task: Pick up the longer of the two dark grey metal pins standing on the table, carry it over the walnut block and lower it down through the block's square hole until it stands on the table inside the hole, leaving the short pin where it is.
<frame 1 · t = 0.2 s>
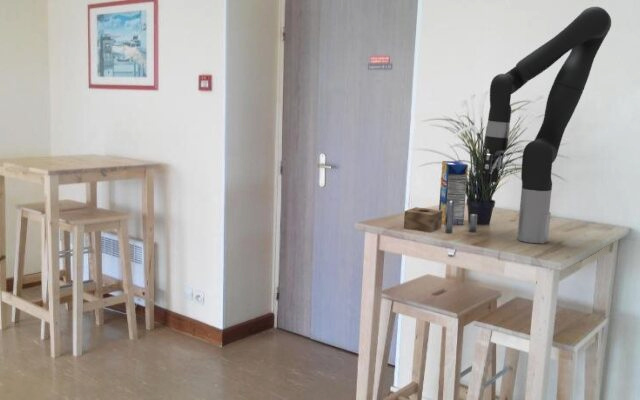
hand: (490, 183, 208), 18 cm above the table, tool pointing down, fingers open, 8 cm apart
short pin: (472, 231, 215), on the table
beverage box: (450, 222, 230), on the table
long pin: (448, 232, 212), on the table
hole block: (422, 227, 218), on the table
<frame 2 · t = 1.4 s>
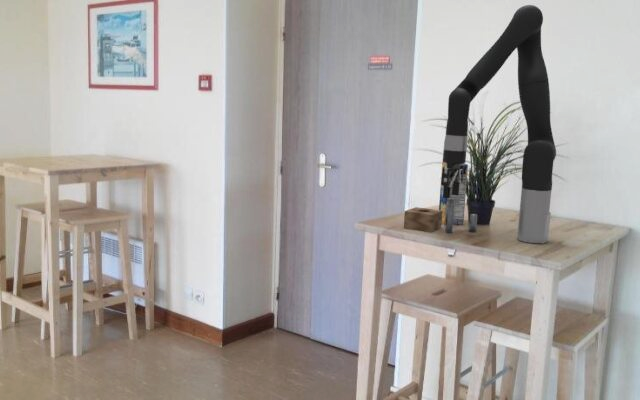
hand: (450, 196, 210), 12 cm above the table, tool pointing down, fingers open, 8 cm apart
nothing on the table moved.
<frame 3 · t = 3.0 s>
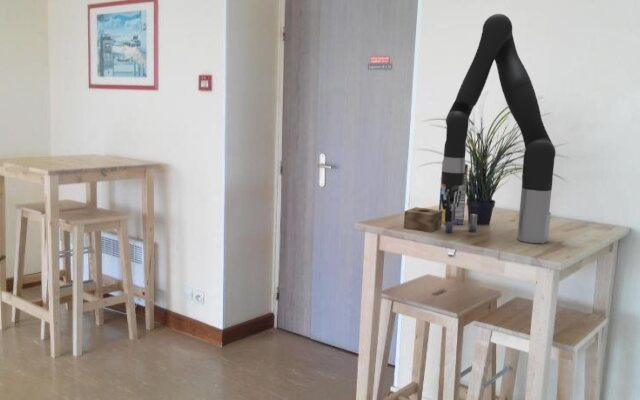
hand: (449, 220, 211), 4 cm above the table, tool pointing down, fingers closed on long pin, 2 cm apart
long pin: (448, 232, 212), on the table, touching gripper
everything else where it was.
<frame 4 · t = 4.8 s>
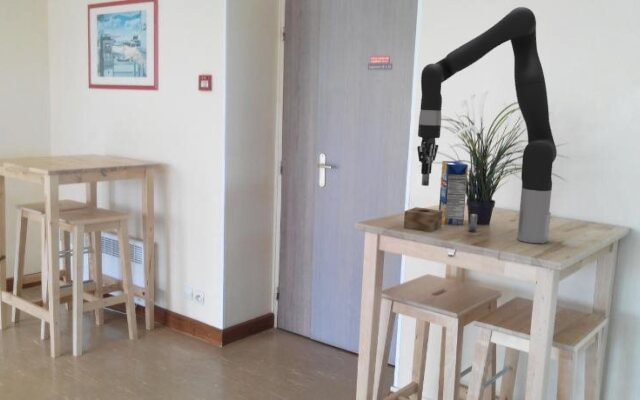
hand: (426, 173, 215), 19 cm above the table, tool pointing down, fingers closed on long pin, 2 cm apart
long pin: (425, 185, 215), point 15 cm above the table, touching gripper
everything else where it was.
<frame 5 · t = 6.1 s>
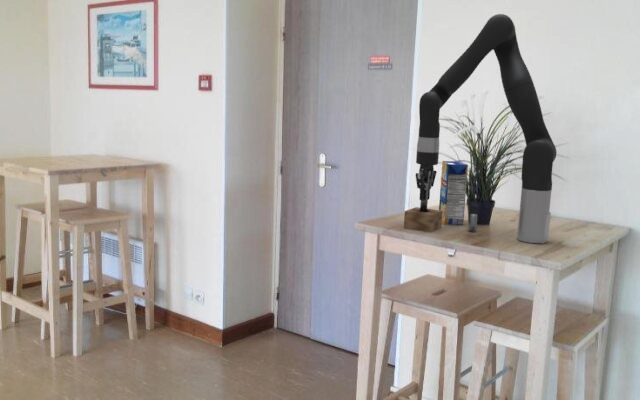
hand: (424, 199, 216), 10 cm above the table, tool pointing down, fingers closed on long pin, 2 cm apart
long pin: (423, 211, 217), point 6 cm above the table, touching gripper
everything else where it was.
when the fingers open (7 cm above the table, at t = 6.8 s): long pin drops 3 cm, resting in hole block.
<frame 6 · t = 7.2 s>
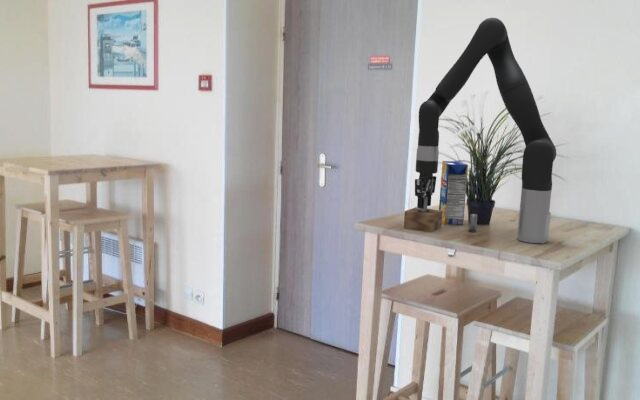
hand: (424, 206, 217), 8 cm above the table, tool pointing down, fingers open, 5 cm apart
long pin: (422, 227, 218), resting in hole block
everything else where it was.
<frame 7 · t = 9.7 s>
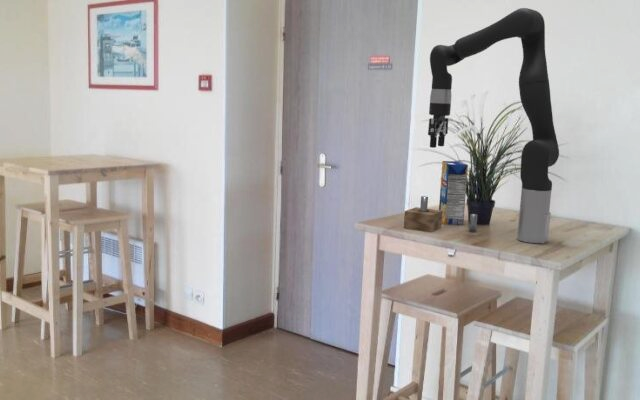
hand: (436, 146, 227), 27 cm above the table, tool pointing down, fingers open, 8 cm apart
nothing on the table moved.
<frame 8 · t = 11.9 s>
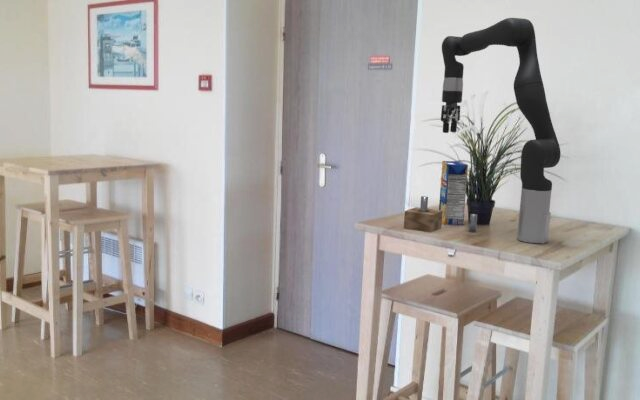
hand: (449, 132, 240), 32 cm above the table, tool pointing down, fingers open, 8 cm apart
nothing on the table moved.
at the end: long pin 0.0 cm off-centre on the hole block, point 0.0 cm above the hole block's base; long pin tilted 0°; the gripper is holding nothing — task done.
